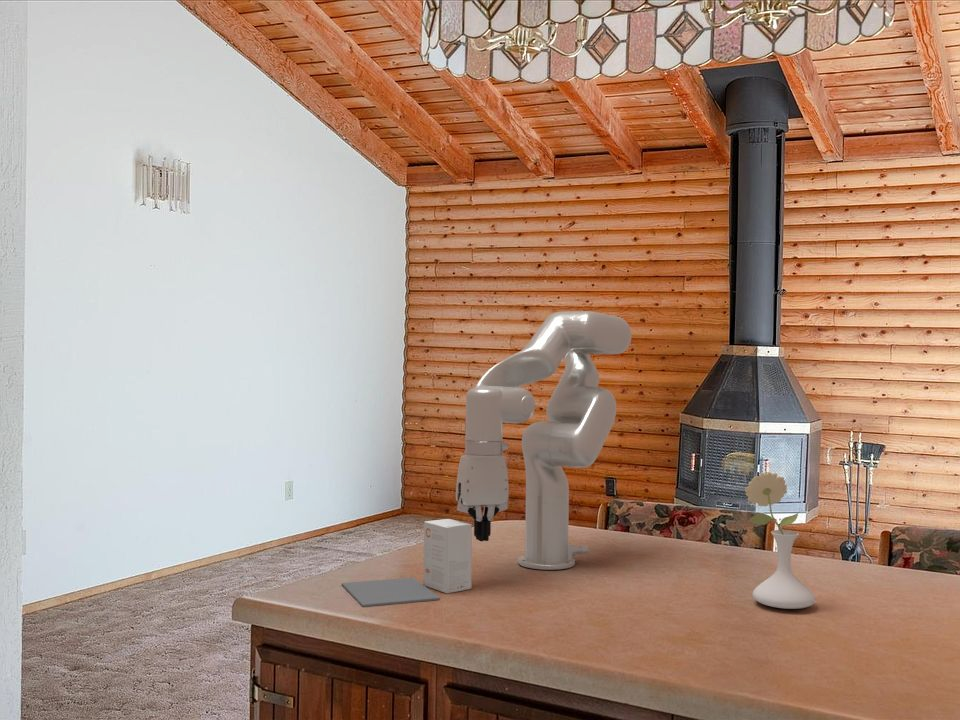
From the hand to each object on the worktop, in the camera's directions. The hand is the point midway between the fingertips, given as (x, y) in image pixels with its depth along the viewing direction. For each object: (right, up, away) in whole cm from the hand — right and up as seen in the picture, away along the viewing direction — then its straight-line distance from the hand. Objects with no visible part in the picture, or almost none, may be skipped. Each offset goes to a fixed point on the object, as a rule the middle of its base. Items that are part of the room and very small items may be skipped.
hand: (482, 539), depth 191 cm
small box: (-7, -9, -3) cm, 12 cm away
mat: (-18, -9, -7) cm, 21 cm away
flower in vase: (+56, -10, -13) cm, 58 cm away
